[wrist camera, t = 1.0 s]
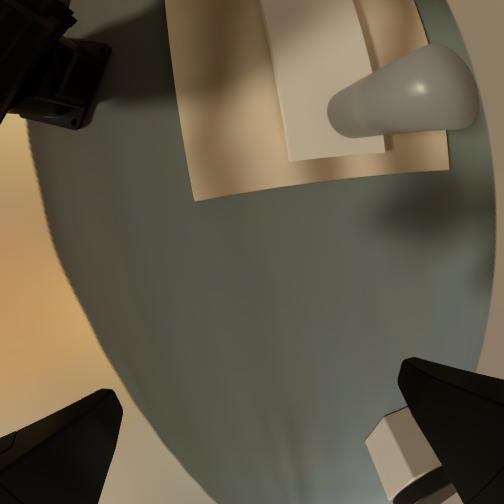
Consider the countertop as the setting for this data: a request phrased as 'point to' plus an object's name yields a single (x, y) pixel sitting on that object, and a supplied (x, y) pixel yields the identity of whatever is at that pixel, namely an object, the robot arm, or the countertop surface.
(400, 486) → the jar
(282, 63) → the knobbed beige slab
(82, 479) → the robot arm
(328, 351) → the countertop surface
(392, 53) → the board
